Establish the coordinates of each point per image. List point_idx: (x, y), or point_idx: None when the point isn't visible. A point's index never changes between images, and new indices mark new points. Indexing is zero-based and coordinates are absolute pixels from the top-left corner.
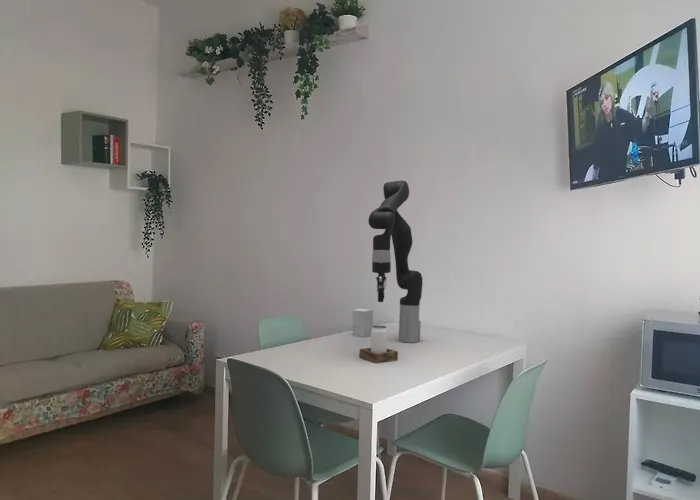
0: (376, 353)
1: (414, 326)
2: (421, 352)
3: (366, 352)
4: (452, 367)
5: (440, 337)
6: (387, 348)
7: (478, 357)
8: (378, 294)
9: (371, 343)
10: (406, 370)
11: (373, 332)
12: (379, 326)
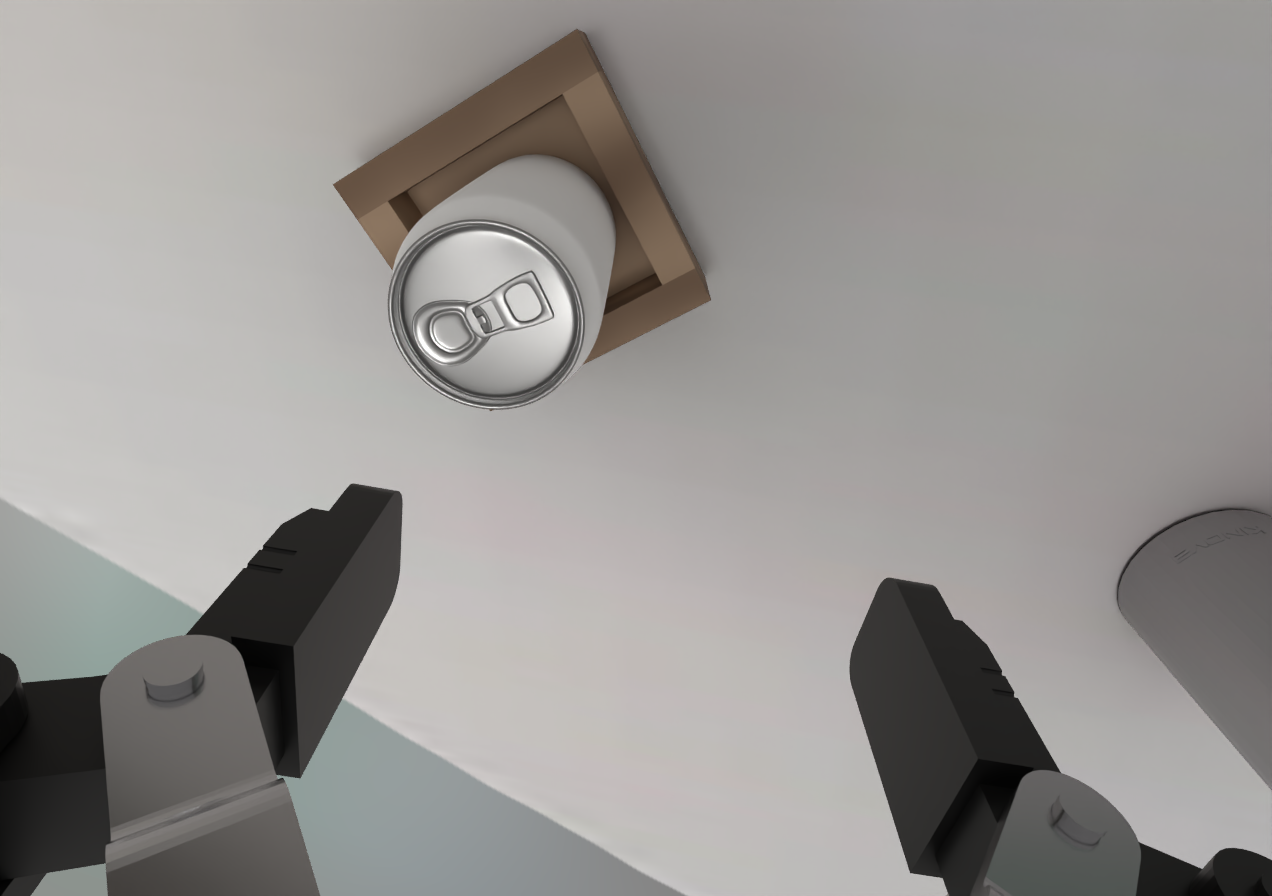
0: (376, 201)
1: (1207, 704)
2: (777, 586)
3: (464, 102)
4: (361, 664)
5: (1245, 781)
6: (616, 342)
7: (632, 824)
8: (261, 612)
9: (488, 173)
10: (196, 391)
11: (426, 215)
12: (569, 330)
